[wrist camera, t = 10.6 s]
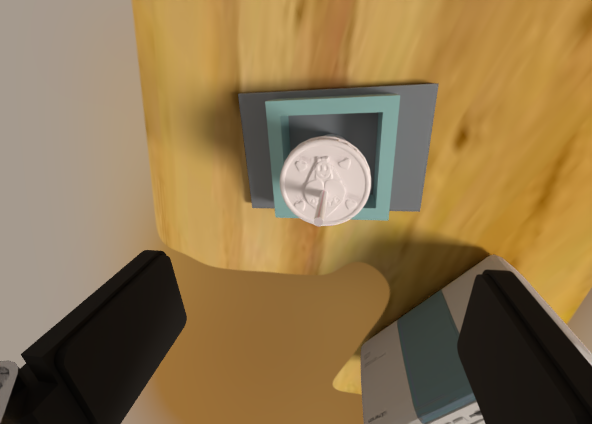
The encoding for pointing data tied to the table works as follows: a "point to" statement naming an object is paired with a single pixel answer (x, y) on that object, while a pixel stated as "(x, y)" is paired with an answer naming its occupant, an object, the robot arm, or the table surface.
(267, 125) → the socket holder
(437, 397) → the stereo radio cassette player
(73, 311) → the robot arm
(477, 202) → the table surface
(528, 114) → the table surface
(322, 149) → the smoothie
